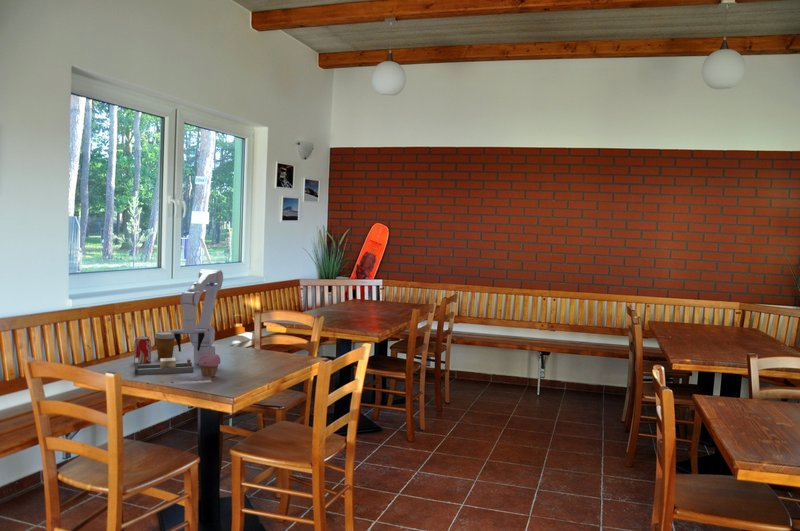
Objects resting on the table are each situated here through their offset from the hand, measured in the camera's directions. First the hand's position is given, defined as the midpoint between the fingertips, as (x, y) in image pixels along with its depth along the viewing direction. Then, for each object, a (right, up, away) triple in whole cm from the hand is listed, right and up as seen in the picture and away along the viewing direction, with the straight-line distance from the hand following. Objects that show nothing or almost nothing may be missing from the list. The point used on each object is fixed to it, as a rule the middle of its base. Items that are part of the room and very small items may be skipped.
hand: (189, 350), depth 284 cm
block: (-5, -8, -2) cm, 10 cm away
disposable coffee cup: (-20, -7, +26) cm, 33 cm away
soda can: (-25, -8, +12) cm, 29 cm away
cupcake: (+11, -10, -7) cm, 16 cm away
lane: (-10, -9, -3) cm, 14 cm away
